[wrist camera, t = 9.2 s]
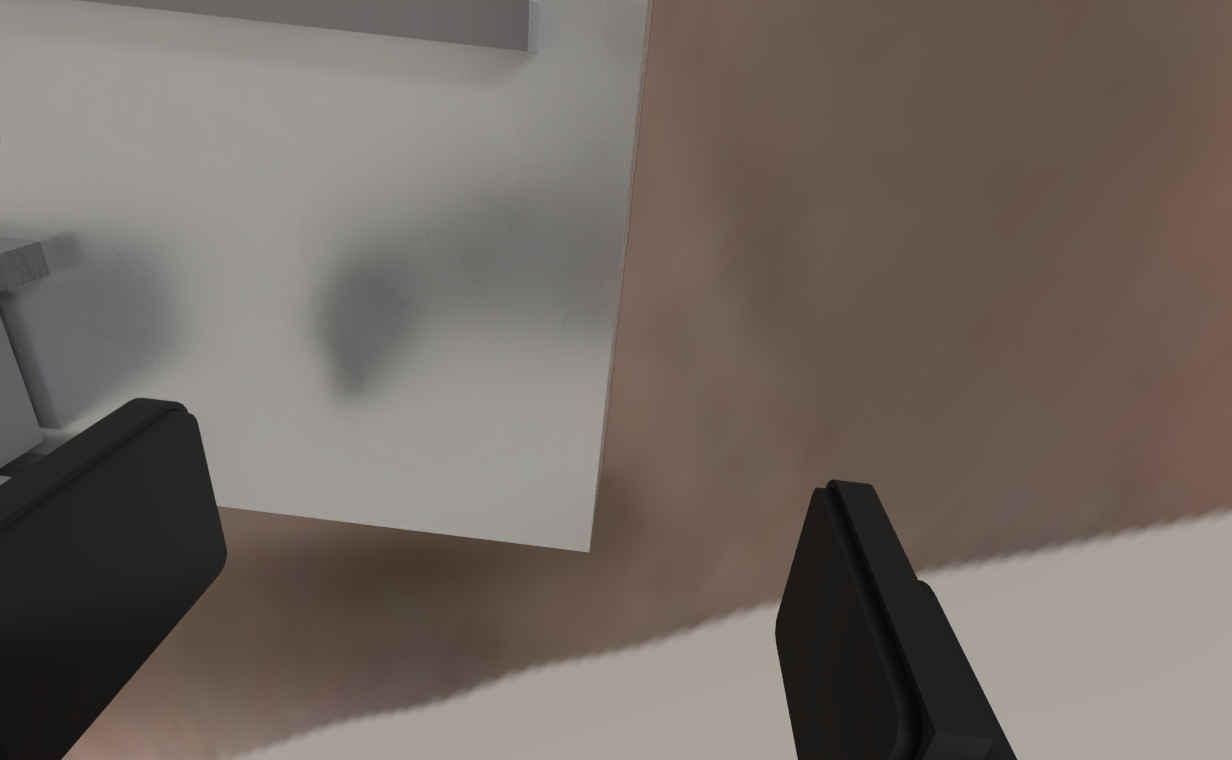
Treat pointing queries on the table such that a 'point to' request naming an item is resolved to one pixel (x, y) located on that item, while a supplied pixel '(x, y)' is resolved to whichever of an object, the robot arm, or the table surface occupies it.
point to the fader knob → (14, 408)
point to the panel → (330, 244)
